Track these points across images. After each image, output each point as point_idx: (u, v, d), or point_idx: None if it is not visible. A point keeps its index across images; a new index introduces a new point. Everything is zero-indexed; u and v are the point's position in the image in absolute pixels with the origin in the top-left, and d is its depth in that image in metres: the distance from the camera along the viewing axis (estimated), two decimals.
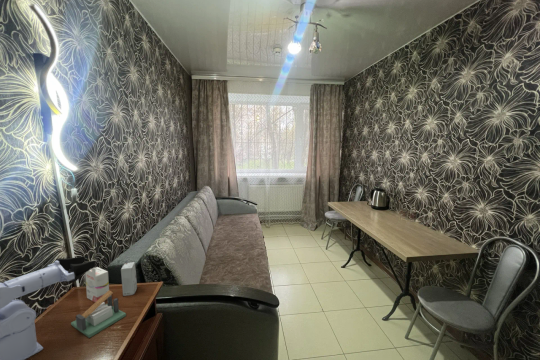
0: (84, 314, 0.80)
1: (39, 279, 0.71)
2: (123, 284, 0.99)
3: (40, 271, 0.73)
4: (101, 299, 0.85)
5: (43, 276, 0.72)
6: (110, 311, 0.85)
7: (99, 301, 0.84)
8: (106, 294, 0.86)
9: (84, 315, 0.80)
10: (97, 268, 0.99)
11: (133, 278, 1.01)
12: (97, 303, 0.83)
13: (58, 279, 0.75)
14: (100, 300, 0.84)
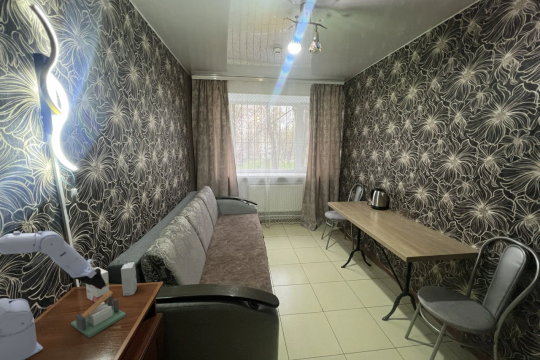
0: (84, 314, 0.80)
1: (74, 259, 0.77)
2: (123, 284, 0.99)
3: (80, 255, 0.80)
4: (101, 299, 0.85)
5: (78, 258, 0.78)
6: (110, 311, 0.85)
7: (99, 301, 0.84)
8: (106, 294, 0.86)
9: (84, 315, 0.80)
10: None
11: (133, 278, 1.01)
12: (97, 303, 0.83)
13: (78, 272, 0.78)
14: (100, 300, 0.84)
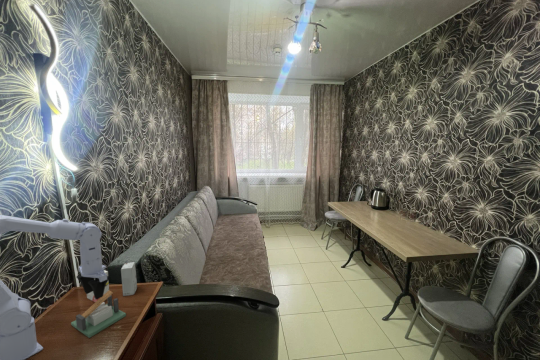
0: (84, 314, 0.80)
1: (96, 257, 0.80)
2: (123, 284, 0.99)
3: None
4: (101, 299, 0.85)
5: (99, 259, 0.81)
6: (110, 311, 0.85)
7: (99, 301, 0.84)
8: (106, 294, 0.86)
9: (84, 315, 0.80)
10: None
11: (133, 278, 1.01)
12: (97, 303, 0.83)
13: (91, 271, 0.79)
14: (100, 300, 0.84)
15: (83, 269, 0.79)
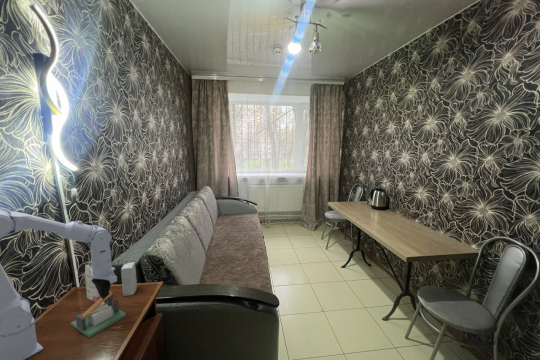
0: (84, 314, 0.80)
1: (106, 260, 0.83)
2: (123, 284, 0.99)
3: None
4: (101, 299, 0.85)
5: (109, 261, 0.84)
6: (110, 311, 0.85)
7: (99, 301, 0.84)
8: None
9: (84, 315, 0.80)
10: None
11: (133, 278, 1.01)
12: (97, 303, 0.83)
13: (102, 273, 0.82)
14: (100, 300, 0.84)
15: (94, 271, 0.82)
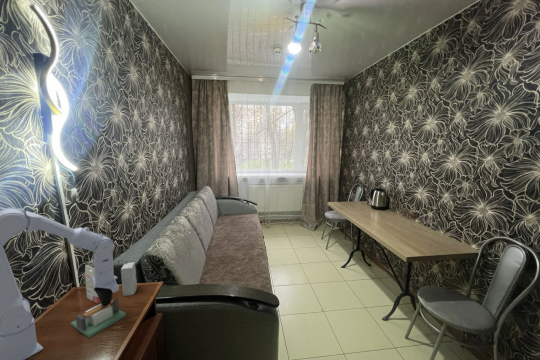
0: (85, 314, 0.81)
1: (109, 269, 0.84)
2: (123, 284, 0.99)
3: None
4: None
5: (112, 270, 0.85)
6: (110, 311, 0.85)
7: (102, 306, 0.85)
8: (110, 302, 0.88)
9: (85, 315, 0.80)
10: None
11: (133, 278, 1.01)
12: (100, 307, 0.84)
13: (104, 282, 0.83)
14: None
15: (96, 280, 0.83)
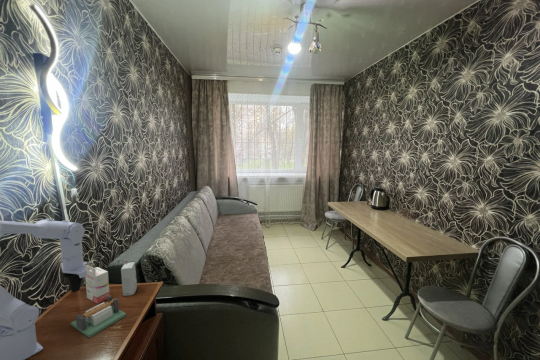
0: (85, 314, 0.81)
1: (80, 253, 0.84)
2: (123, 284, 0.99)
3: None
4: (104, 305, 0.86)
5: (80, 256, 0.84)
6: (110, 311, 0.85)
7: (102, 306, 0.85)
8: (110, 301, 0.88)
9: (85, 315, 0.80)
10: (97, 268, 0.99)
11: (133, 278, 1.01)
12: (100, 307, 0.84)
13: (72, 268, 0.82)
14: (103, 305, 0.85)
15: (64, 265, 0.81)
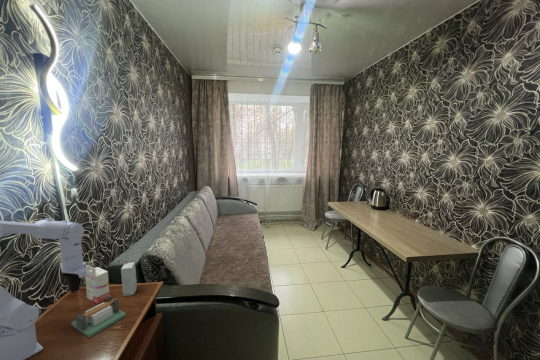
0: (85, 314, 0.81)
1: (80, 252, 0.84)
2: (123, 284, 0.99)
3: (81, 253, 0.86)
4: (104, 305, 0.86)
5: (80, 256, 0.84)
6: (110, 311, 0.85)
7: (102, 306, 0.85)
8: (110, 301, 0.88)
9: (85, 315, 0.80)
10: (97, 268, 0.99)
11: (133, 278, 1.01)
12: (100, 307, 0.84)
13: (71, 268, 0.82)
14: (103, 305, 0.85)
15: (63, 265, 0.81)
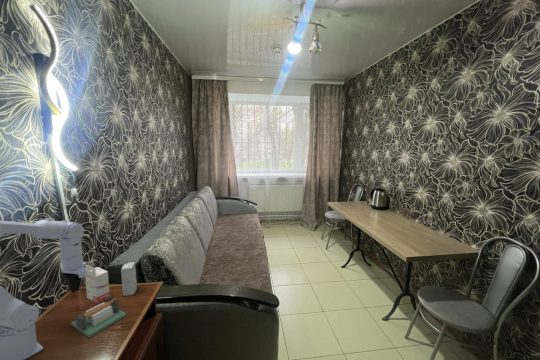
0: (85, 314, 0.81)
1: (80, 252, 0.84)
2: (123, 284, 0.99)
3: (81, 253, 0.86)
4: (104, 305, 0.86)
5: (80, 256, 0.84)
6: (110, 311, 0.85)
7: (102, 306, 0.85)
8: (110, 301, 0.88)
9: (85, 315, 0.80)
10: (97, 268, 0.99)
11: (133, 278, 1.01)
12: (100, 307, 0.84)
13: (71, 268, 0.82)
14: (103, 305, 0.85)
15: (63, 265, 0.81)
